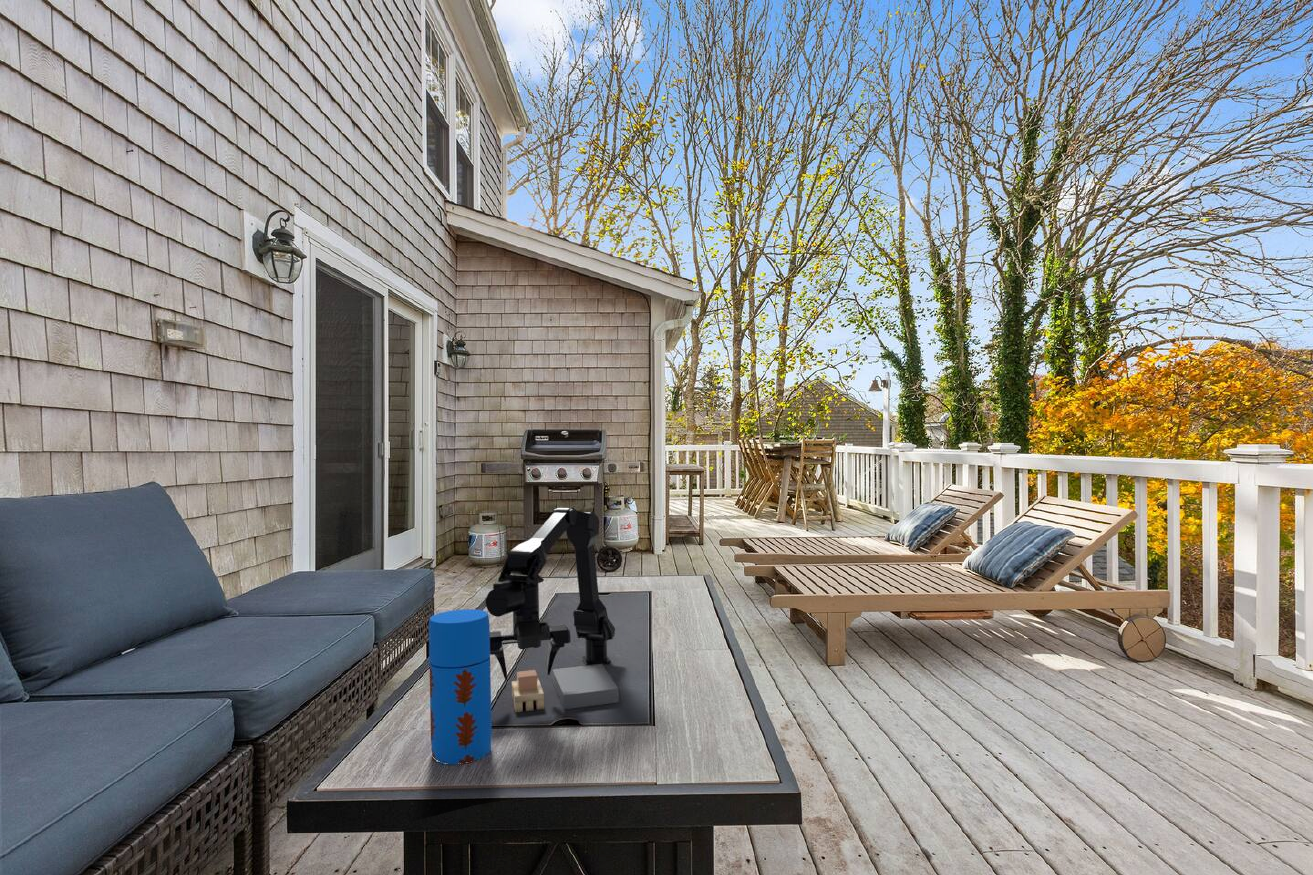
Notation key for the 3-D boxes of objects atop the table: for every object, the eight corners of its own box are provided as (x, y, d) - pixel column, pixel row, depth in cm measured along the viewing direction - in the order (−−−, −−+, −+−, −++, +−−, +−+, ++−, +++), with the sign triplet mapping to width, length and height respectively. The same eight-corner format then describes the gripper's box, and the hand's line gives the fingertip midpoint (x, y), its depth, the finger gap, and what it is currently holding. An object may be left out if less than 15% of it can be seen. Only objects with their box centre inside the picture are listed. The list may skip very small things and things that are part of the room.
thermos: (436, 770, 118) (433, 626, 118) (426, 747, 128) (424, 613, 128) (498, 756, 123) (495, 618, 123) (484, 734, 133) (482, 606, 133)
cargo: (517, 685, 151) (516, 671, 151) (535, 683, 152) (535, 669, 152) (518, 691, 147) (518, 677, 147) (537, 689, 148) (537, 675, 148)
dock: (552, 682, 162) (552, 669, 162) (602, 676, 165) (601, 663, 165) (563, 709, 145) (563, 695, 145) (618, 702, 148) (618, 688, 148)
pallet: (511, 696, 153) (511, 681, 153) (538, 693, 155) (538, 678, 155) (515, 713, 144) (515, 696, 144) (543, 709, 145) (543, 693, 145)
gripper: (483, 618, 139) (485, 694, 139) (573, 610, 145) (575, 683, 144) (481, 606, 150) (483, 677, 150) (565, 599, 155) (567, 667, 155)
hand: (527, 676), depth 150 cm, fingers open, 9 cm apart
